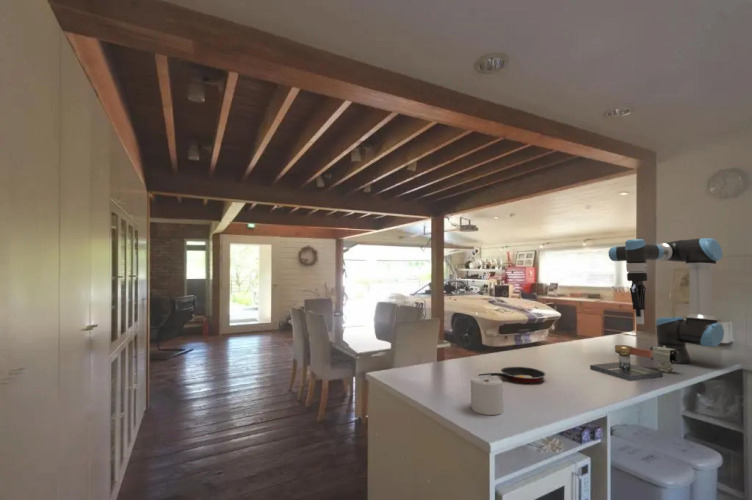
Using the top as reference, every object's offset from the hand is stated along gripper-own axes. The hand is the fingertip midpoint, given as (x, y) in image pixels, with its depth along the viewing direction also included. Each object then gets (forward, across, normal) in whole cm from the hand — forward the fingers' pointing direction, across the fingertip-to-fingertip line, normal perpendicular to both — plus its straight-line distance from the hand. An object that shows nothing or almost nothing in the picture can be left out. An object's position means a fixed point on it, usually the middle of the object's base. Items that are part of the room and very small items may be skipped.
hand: (640, 323), depth 162 cm
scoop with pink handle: (+14, 0, +3) cm, 15 cm away
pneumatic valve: (+24, +17, -4) cm, 30 cm away
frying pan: (+24, -52, +34) cm, 67 cm away
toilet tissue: (+23, -89, +19) cm, 94 cm away
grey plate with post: (+24, 0, +7) cm, 25 cm away
